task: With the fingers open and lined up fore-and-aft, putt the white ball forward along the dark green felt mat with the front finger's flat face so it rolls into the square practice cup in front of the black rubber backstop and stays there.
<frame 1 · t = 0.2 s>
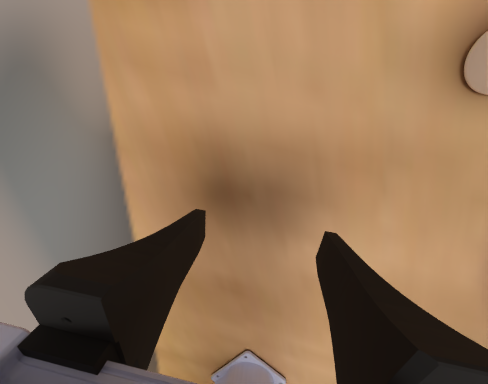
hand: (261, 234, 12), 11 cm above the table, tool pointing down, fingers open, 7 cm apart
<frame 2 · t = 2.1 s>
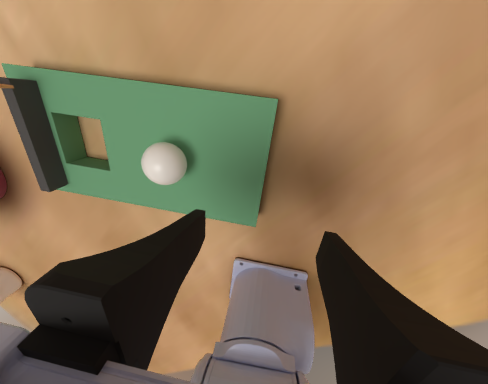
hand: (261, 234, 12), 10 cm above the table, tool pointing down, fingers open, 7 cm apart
mat: (154, 146, 21), on the table
drinking glass: (11, 275, 37), on the table
ball: (165, 163, 17), point 4 cm above the table, touching mat
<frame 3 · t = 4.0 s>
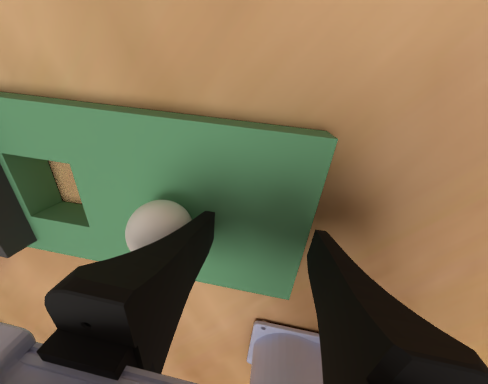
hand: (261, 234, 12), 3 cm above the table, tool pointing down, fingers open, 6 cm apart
mat: (149, 190, 15), on the table
ball: (161, 230, 11), point 4 cm above the table, touching gripper, mat
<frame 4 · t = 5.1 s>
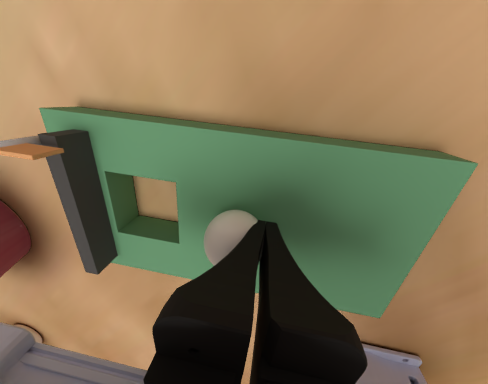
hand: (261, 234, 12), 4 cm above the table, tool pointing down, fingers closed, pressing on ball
mat: (234, 206, 15), on the table
drinking glass: (30, 331, 31), on the table
ball: (234, 240, 12), point 4 cm above the table, tilted 86°, touching gripper, mat
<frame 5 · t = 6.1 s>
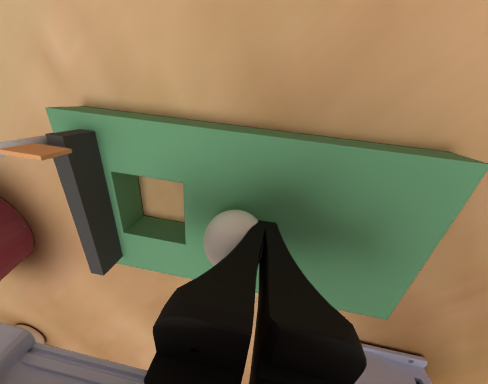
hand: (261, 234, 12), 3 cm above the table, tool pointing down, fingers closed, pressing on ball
mat: (240, 206, 15), on the table
drinking glass: (32, 331, 31), on the table
ball: (234, 240, 11), point 4 cm above the table, tilted 102°, touching gripper, mat
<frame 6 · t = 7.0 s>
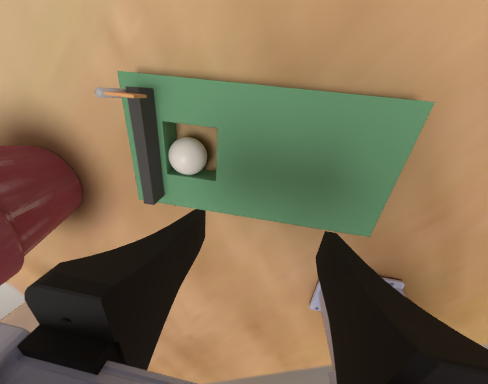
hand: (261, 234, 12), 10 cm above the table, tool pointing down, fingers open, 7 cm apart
mat: (257, 154, 20), on the table
drinking glass: (70, 286, 36), on the table
plant pot: (52, 179, 26), on the table
ball: (188, 156, 19), point 2 cm above the table, tilted 18°
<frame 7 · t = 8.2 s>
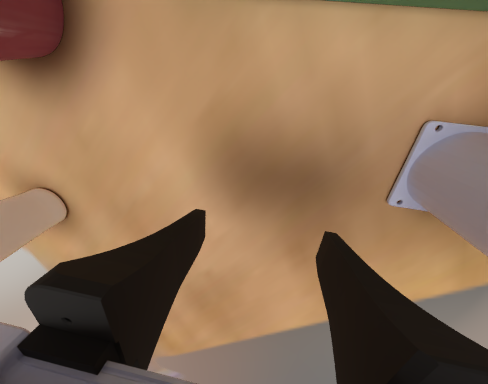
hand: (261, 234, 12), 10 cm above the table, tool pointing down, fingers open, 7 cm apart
drinking glass: (52, 203, 28), on the table
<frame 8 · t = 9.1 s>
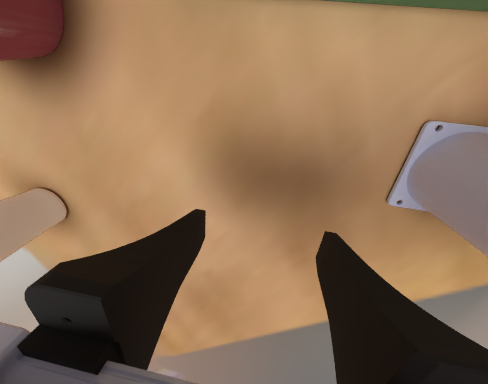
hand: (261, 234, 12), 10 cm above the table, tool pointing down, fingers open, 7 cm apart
drinking glass: (52, 203, 28), on the table
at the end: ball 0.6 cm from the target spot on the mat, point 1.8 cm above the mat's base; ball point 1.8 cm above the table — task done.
